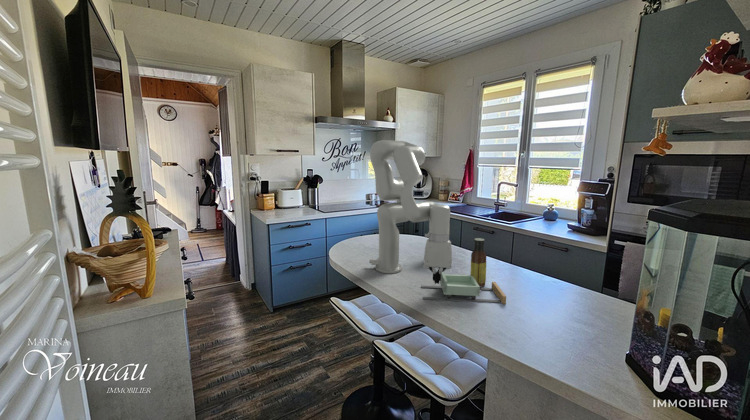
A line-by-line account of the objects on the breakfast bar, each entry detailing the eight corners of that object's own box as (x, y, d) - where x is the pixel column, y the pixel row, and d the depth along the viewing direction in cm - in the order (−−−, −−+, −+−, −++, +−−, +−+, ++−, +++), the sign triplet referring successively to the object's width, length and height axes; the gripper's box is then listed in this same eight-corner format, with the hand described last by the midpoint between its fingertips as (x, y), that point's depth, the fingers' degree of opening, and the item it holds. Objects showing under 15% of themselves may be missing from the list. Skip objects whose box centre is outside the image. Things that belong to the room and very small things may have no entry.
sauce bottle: (485, 282, 129) (489, 238, 126) (485, 288, 124) (489, 242, 120) (469, 280, 132) (472, 236, 128) (468, 286, 126) (472, 240, 122)
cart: (443, 298, 113) (444, 281, 112) (439, 285, 124) (440, 270, 123) (478, 299, 113) (480, 282, 111) (471, 287, 123) (472, 271, 122)
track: (423, 300, 113) (423, 293, 113) (420, 285, 126) (421, 278, 125) (505, 304, 111) (506, 296, 110) (494, 288, 124) (495, 281, 123)
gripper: (419, 239, 112) (417, 285, 115) (460, 240, 111) (457, 287, 114) (418, 234, 119) (416, 277, 122) (456, 235, 118) (454, 279, 121)
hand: (436, 282), depth 118 cm, fingers closed
